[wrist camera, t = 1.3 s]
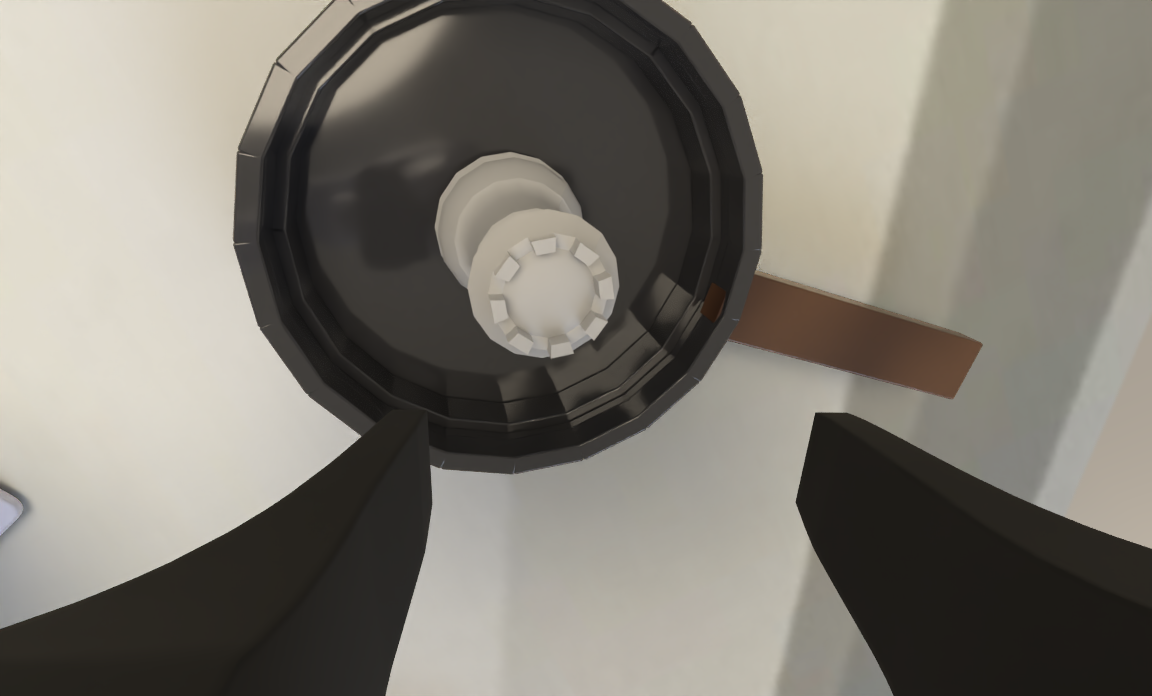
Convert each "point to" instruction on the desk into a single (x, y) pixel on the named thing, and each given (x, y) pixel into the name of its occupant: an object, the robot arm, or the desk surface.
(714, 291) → the pan handle
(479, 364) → the pan
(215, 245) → the desk surface
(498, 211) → the rook chess piece
